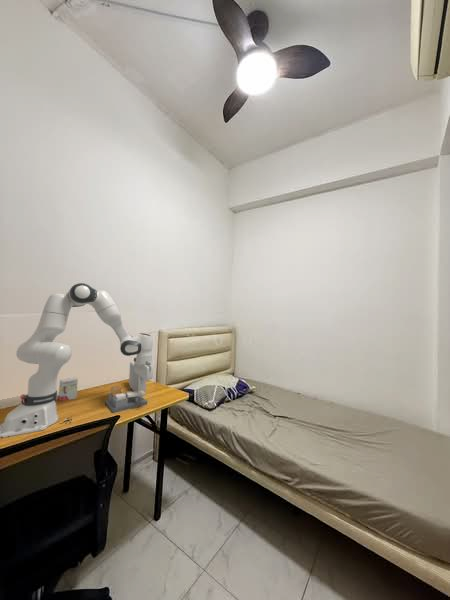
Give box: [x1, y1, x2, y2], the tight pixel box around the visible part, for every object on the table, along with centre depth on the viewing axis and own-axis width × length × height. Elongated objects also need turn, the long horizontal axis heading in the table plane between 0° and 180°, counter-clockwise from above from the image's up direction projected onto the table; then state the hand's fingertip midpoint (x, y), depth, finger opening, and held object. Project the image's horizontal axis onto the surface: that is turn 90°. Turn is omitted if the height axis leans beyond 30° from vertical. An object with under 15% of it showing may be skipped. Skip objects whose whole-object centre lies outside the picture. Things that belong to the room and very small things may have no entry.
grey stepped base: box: [104, 392, 148, 414], centre depth 139 cm, size 19×15×6 cm
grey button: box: [115, 392, 126, 400], centre depth 133 cm, size 4×4×5 cm
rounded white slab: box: [128, 361, 147, 394], centre depth 164 cm, size 27×7×17 cm, turn 34°
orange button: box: [110, 385, 122, 396], centre depth 139 cm, size 4×4×5 cm
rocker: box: [125, 391, 146, 398], centre depth 140 cm, size 10×4×2 cm, turn 132°
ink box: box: [57, 377, 78, 402], centre depth 144 cm, size 9×5×12 cm, turn 138°
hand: (142, 383), depth 142 cm, fingers closed
